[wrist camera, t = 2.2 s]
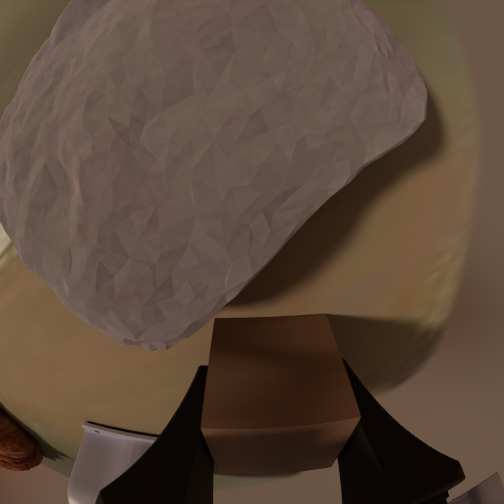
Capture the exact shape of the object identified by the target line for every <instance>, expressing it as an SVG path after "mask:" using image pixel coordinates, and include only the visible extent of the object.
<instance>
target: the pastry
mask: <svg viewBox="0 0 504 504" xmlns="http://www.w3.org/2000/svg"><path fill="white" fill-rule="evenodd" d="M42 460H43V456H42V453H41V451H40V449H39V447H38V443H37V441H36V440H35V439H34V438H33V437H31V436H30V435H29V434H28V433H27V432H26V431H25V430H24V429H23V428H22V427H21V426H20V425H19V424H17V423H16V422H15V421H14V420H13V419H12V418H11V417H10V416H8V415H7V414H6V413H5V412H4V411H3V410H2V409H1V408H0V466H1V467H3V468H6V469H11V470H15V471H24V470H30V468H33V467H35V466H38V465H39V464H40V463H41V462H42Z"/></svg>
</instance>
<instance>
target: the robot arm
mask: <svg viewBox="0 0 504 504" xmlns="http://www.w3.org/2000/svg"><path fill="white" fill-rule="evenodd" d="M342 360H343V363H344V366H345V369H346V372H347V375H348V378H349V381H350V384H351V387H352V390H353V393H354V396H355V399H356V402H357V405H358V409H359V412H360V415H361V418H360V420H359V422H358V423H357V425H356V427H355V429H354V431H353V432H352V434H351V436H350V437H349V439H348V441H347V443H346V444H345V446H344V447H343V449H342V451H341V452H340V454H339V455H338V457H337V458H338V465H339V472H340V481H341V491H342V504H504V487H503V484H502V482H501V479H500V476H499V474H498V472H496V473H494V474H493V475H492V476H490V477H489V478H487V479H486V480H484V481H483V482H481V483H480V484H478V485H477V486H475V487H473V488H472V489H470V490H469V491H467V492H465V493H464V494H462V495H460V496H458V497H457V498H455V499H453V500H452V501H450V502H448V503H447V500H446V498H448V497H449V494H448V490H450V489H451V488H453V487H454V486H456V485H457V484H459V483H461V482H462V481H463V480H464V479H465V475H464V472H463V469H462V467H461V465H460V463H459V461H457V460H455V459H452V458H450V457H448V456H446V455H444V454H442V453H440V452H438V451H437V450H435V449H433V448H432V447H429V446H428V445H427V444H425V443H424V442H422V441H421V440H420V439H418V438H417V437H415V436H414V435H412V434H411V433H410V432H409V431H407V430H406V429H405V428H404V427H403V426H401V425H400V424H399V423H398V422H397V421H396V420H395V419H394V418H392V416H390V414H388V413H387V411H386V410H385V409H384V408H383V407H382V406H381V405H380V404H379V403H378V402H377V401H376V400H375V398H374V397H373V396H372V395H371V394H370V392H369V391H368V390H367V389H366V388H365V386H364V385H363V384H362V383H361V381H360V380H359V379H358V377H357V376H356V375H355V373H354V372H353V371H352V369H351V368H350V367H349V365H348V364H347V362H346V361H345V360H344V359H343V358H342ZM207 371H208V366H204V365H201V366H199V367H198V370H197V372H196V375H195V377H194V379H193V381H192V383H191V385H190V387H189V389H188V391H187V393H186V395H185V397H184V399H183V400H182V402H181V404H180V406H179V407H178V409H177V411H176V412H175V414H174V415H173V417H172V418H171V420H170V421H169V423H168V424H167V426H166V427H165V429H164V430H163V431H162V433H161V434H160V435H159V437H153V436H146V435H140V434H134V433H129V432H124V431H119V430H114V429H110V428H106V427H102V426H97V425H94V424H90V423H86V422H84V423H83V424H82V427H83V428H84V430H85V431H86V432H85V435H84V438H83V440H82V443H81V446H80V449H79V452H78V455H77V458H76V461H75V464H74V467H73V470H72V474H71V477H70V480H69V485H68V500H69V504H213V467H214V460H213V458H212V455H211V453H210V450H209V448H208V446H207V443H206V441H205V438H204V436H203V433H202V430H201V420H202V412H203V403H204V395H205V387H206V379H207Z"/></svg>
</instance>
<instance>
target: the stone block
mask: <svg viewBox="0 0 504 504" xmlns="http://www.w3.org/2000/svg"><path fill="white" fill-rule="evenodd" d="M427 99H428V95H427V89H426V87H425V84H424V82H423V80H422V77H421V75H420V73H419V71H418V69H417V67H416V66H415V63H414V60H413V57H412V55H411V54H410V52H409V51H408V49H407V48H406V47H405V46H404V45H403V44H402V43H401V42H399V41H398V40H397V38H396V37H395V35H394V34H393V33H392V31H391V30H390V29H389V27H388V26H387V25H386V24H385V22H383V21H382V20H381V19H380V18H379V17H378V16H376V15H375V14H374V13H373V12H371V11H370V10H369V9H368V8H367V7H366V6H365V5H364V4H363V2H362V1H361V0H71V1H70V2H69V4H68V5H67V6H66V8H65V9H64V10H63V12H62V13H61V15H60V16H59V18H58V20H57V22H56V24H55V26H54V28H53V30H52V33H51V36H50V37H49V38H48V39H47V40H46V42H45V43H44V44H43V45H42V47H41V48H40V50H39V51H38V52H37V53H36V54H35V56H34V57H33V58H32V60H31V62H30V64H29V66H28V68H27V70H26V71H25V73H24V75H23V77H22V79H21V81H20V83H19V87H18V90H17V93H16V96H15V97H14V98H13V100H12V101H11V103H10V104H9V105H8V106H7V107H6V109H5V111H4V114H3V116H2V118H1V121H0V222H1V224H2V226H3V228H4V230H5V232H6V233H7V235H8V236H9V238H10V239H11V240H12V242H13V244H14V246H15V248H16V250H17V252H18V254H19V256H20V258H21V260H22V262H23V264H24V266H25V267H27V268H28V269H30V270H31V271H33V272H35V273H36V274H37V275H38V276H39V277H40V278H41V279H42V281H44V282H45V283H46V284H47V285H48V286H49V287H51V288H52V290H53V291H54V293H55V294H56V296H57V297H58V298H59V300H60V301H61V302H62V304H63V305H64V306H65V307H66V308H67V309H69V310H70V311H72V312H73V313H75V314H76V315H77V316H78V317H80V318H81V319H82V321H83V322H85V323H86V324H87V325H89V326H90V327H92V328H93V329H95V330H97V331H99V332H101V333H102V334H104V335H106V336H107V337H109V338H111V339H113V340H115V341H118V342H121V343H124V344H127V345H142V346H143V347H144V348H145V349H146V350H149V351H153V350H156V349H168V348H170V347H171V346H173V345H175V344H177V343H178V342H179V341H181V340H182V339H184V338H188V337H190V336H191V335H192V334H194V333H195V332H196V331H197V330H199V329H200V328H201V327H202V326H203V325H205V324H206V323H207V322H208V321H209V320H210V319H211V318H212V317H213V316H214V315H215V314H216V313H217V312H219V311H220V310H221V309H222V308H223V307H224V306H225V305H226V304H227V303H228V302H229V301H231V300H232V299H233V298H234V297H236V296H237V295H238V294H239V293H240V292H241V291H242V290H243V289H244V288H245V287H246V286H247V285H248V284H249V283H250V282H251V281H252V280H253V279H254V278H255V277H256V276H257V275H258V274H259V273H260V272H261V271H262V270H263V269H264V268H265V267H266V266H267V265H268V264H269V263H270V262H271V260H272V259H273V258H274V257H275V256H276V254H277V253H278V252H279V251H280V250H281V249H282V247H283V246H284V245H285V244H286V243H287V242H288V240H289V239H290V238H291V237H292V236H293V235H294V234H295V233H296V231H297V230H298V229H299V228H300V227H301V226H302V225H303V224H304V223H305V222H306V221H307V220H308V219H309V218H310V217H311V216H312V215H313V214H314V213H315V212H316V211H317V210H318V209H319V208H320V207H321V206H322V205H323V204H324V203H325V202H326V201H327V200H328V199H329V198H330V197H331V196H332V195H334V194H335V193H336V192H338V191H339V190H340V189H342V188H343V187H344V186H346V185H347V184H348V183H350V182H351V181H352V180H353V179H354V178H355V177H356V176H357V175H358V174H359V172H360V171H361V170H362V169H363V168H364V167H366V166H367V165H369V164H371V163H372V162H374V161H375V160H377V159H378V158H380V157H382V156H383V155H385V154H386V153H388V152H390V151H391V150H393V149H394V148H396V147H398V146H399V145H401V144H402V143H404V142H405V141H406V140H407V139H408V138H409V137H410V136H411V135H412V134H413V133H414V132H415V131H416V130H417V129H418V128H419V127H420V125H421V124H422V123H423V122H424V121H425V120H426V112H427Z"/></svg>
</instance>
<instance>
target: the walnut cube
mask: <svg viewBox="0 0 504 504" xmlns="http://www.w3.org/2000/svg"><path fill="white" fill-rule="evenodd" d="M360 418H361V415H360V412H359V409H358V405H357V402H356V399H355V396H354V393H353V390H352V387H351V384H350V381H349V378H348V375H347V372H346V369H345V366H344V363H343V360H342V357H341V354H340V351H339V348H338V346H337V343H336V340H335V337H334V334H333V332H332V329H331V326H330V323H329V321H328V318H327V315H326V314H319V315H304V316H286V317H263V318H221V319H215V320H214V327H213V334H212V342H211V349H210V356H209V364H208V371H207V379H206V387H205V395H204V403H203V412H202V420H201V430H202V433H203V436H204V438H205V441H206V443H207V446H208V448H209V450H210V453H211V455H212V458H213V460H214V462H215V465H216V467H217V469H218V471H219V474H231V475H252V474H276V473H289V472H299V471H307V470H315V469H322V468H328V467H331V466H332V464H333V463H334V461H335V460H336V459H337V457H338V455H339V454H340V452H341V451H342V449H343V447H344V446H345V444H346V443H347V441H348V439H349V437H350V436H351V434H352V432H353V431H354V429H355V427H356V425H357V423H358V422H359V420H360Z"/></svg>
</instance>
